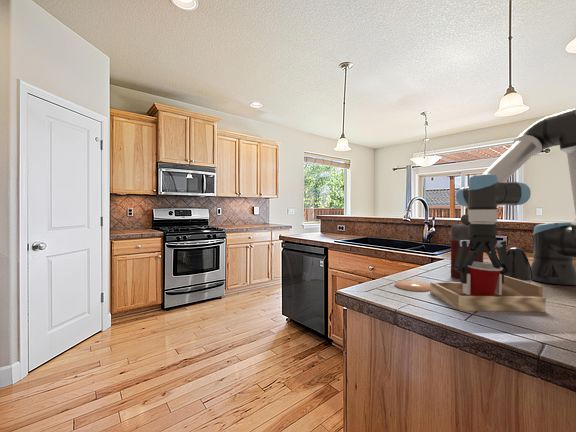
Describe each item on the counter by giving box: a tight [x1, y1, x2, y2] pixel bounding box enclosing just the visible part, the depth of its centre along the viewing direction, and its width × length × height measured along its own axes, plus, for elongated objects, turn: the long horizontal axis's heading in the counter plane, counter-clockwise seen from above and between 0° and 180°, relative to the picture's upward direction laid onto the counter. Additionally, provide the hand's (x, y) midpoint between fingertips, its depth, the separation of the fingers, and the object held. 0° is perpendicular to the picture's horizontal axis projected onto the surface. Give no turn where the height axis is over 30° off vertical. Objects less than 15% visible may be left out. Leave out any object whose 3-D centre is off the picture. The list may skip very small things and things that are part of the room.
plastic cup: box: [467, 262, 503, 296], centre depth 89 cm, size 11×11×12 cm
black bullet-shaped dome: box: [504, 246, 533, 283], centre depth 109 cm, size 10×10×15 cm
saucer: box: [394, 279, 430, 292], centre depth 108 cm, size 13×13×1 cm
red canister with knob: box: [450, 213, 484, 280], centre depth 120 cm, size 9×11×28 cm
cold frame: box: [429, 275, 546, 313], centre depth 89 cm, size 24×18×7 cm
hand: (481, 293), depth 89 cm, fingers closed on plastic cup, 9 cm apart
